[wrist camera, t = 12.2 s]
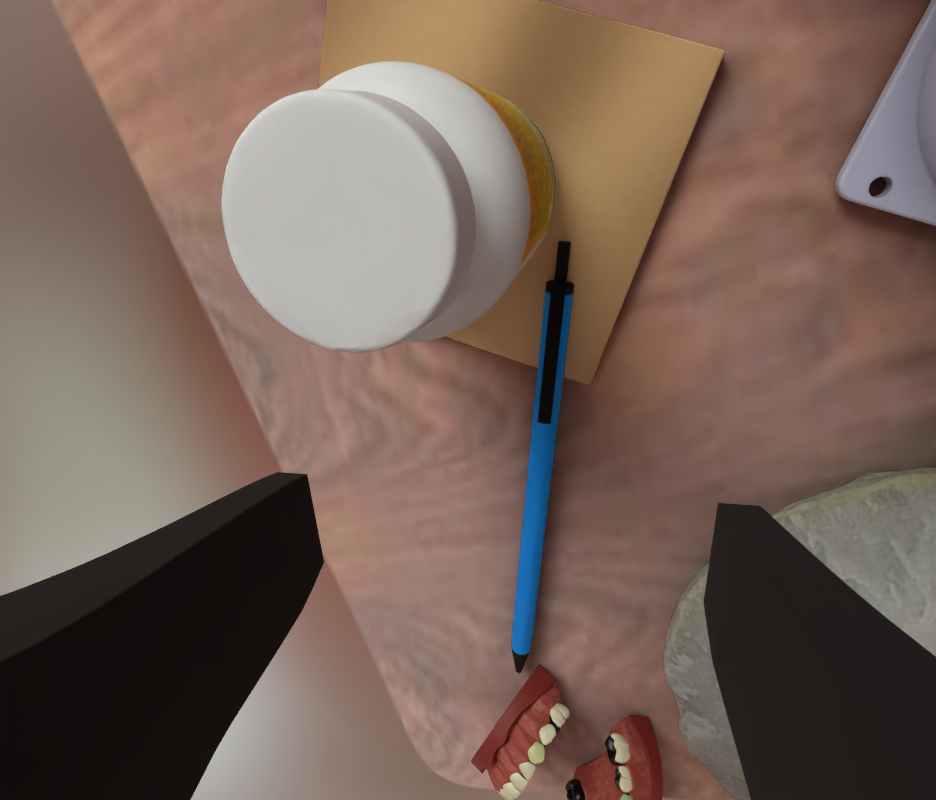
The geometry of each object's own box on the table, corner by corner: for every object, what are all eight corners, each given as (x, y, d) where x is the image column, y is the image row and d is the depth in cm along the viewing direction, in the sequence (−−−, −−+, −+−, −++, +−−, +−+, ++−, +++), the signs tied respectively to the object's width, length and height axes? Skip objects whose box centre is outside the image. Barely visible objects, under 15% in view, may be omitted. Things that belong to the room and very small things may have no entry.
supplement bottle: (497, 308, 18) (396, 449, 10) (363, 215, 18) (145, 281, 10) (598, 158, 16) (576, 180, 8) (443, 49, 16) (241, -56, 7)
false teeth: (618, 886, 24) (450, 802, 24) (616, 788, 28) (471, 716, 28) (687, 823, 21) (500, 729, 22) (675, 724, 25) (515, 646, 26)
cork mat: (723, 52, 15) (726, 50, 14) (590, 381, 19) (589, 386, 19) (339, -52, 16) (333, -56, 15) (301, 284, 20) (295, 287, 20)
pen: (580, 240, 17) (578, 246, 16) (529, 667, 25) (525, 688, 24) (551, 238, 17) (547, 244, 16) (510, 663, 26) (505, 684, 25)
